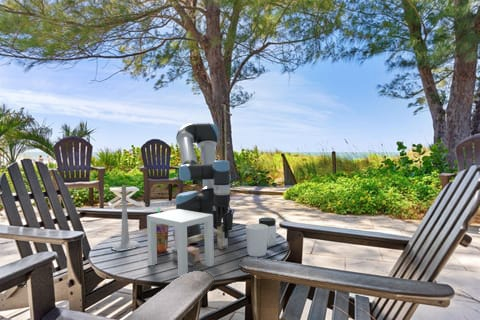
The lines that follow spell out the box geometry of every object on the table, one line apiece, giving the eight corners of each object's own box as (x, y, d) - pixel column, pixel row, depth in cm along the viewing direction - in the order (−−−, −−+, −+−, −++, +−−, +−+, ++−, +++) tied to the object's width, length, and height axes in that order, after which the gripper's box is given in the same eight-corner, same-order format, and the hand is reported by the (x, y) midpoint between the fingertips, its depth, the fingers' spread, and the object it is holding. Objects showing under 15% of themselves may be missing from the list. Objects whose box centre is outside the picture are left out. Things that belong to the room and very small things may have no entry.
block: (182, 261, 123) (181, 249, 123) (191, 258, 127) (191, 246, 127) (190, 264, 120) (189, 251, 120) (199, 260, 124) (199, 248, 124)
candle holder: (244, 250, 136) (244, 224, 136) (266, 249, 137) (265, 223, 136) (247, 257, 126) (246, 229, 126) (270, 256, 127) (269, 228, 127)
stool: (148, 265, 120) (146, 215, 119) (179, 254, 132) (178, 208, 132) (182, 278, 106) (181, 222, 106) (213, 264, 119) (212, 214, 118)
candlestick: (127, 241, 152) (125, 182, 151) (145, 245, 146) (143, 183, 145) (105, 248, 141) (103, 185, 140) (123, 253, 135) (121, 186, 134)
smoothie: (152, 255, 130) (151, 210, 130) (148, 250, 138) (147, 207, 137) (171, 252, 134) (170, 208, 134) (167, 247, 142) (166, 205, 141)
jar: (265, 247, 139) (265, 222, 139) (255, 243, 146) (254, 218, 146) (280, 244, 144) (279, 219, 144) (269, 240, 151) (269, 216, 150)
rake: (216, 244, 144) (216, 223, 144) (235, 249, 136) (235, 227, 136) (172, 259, 124) (172, 235, 124) (191, 266, 116) (191, 240, 116)
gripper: (204, 193, 140) (205, 243, 141) (228, 196, 130) (229, 249, 131) (215, 191, 146) (216, 239, 146) (240, 194, 136) (240, 245, 136)
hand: (222, 244), depth 138 cm, fingers closed on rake, 2 cm apart
